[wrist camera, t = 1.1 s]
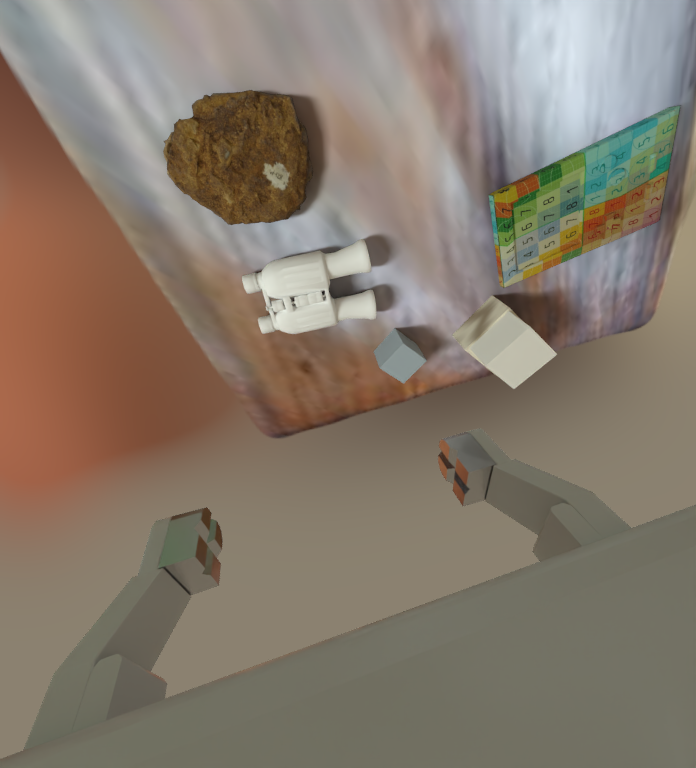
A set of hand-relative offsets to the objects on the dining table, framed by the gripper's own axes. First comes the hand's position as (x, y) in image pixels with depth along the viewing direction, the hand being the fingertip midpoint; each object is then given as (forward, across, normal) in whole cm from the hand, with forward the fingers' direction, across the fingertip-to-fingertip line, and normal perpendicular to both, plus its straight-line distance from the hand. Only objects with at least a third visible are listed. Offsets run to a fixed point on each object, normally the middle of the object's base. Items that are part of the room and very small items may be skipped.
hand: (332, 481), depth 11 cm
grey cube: (+34, -16, +16) cm, 41 cm away
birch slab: (+32, -30, +15) cm, 47 cm away
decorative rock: (+36, +1, -10) cm, 38 cm away
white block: (+27, -30, +15) cm, 43 cm away
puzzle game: (+31, -38, -1) cm, 49 cm away
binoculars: (+36, -4, +4) cm, 37 cm away
